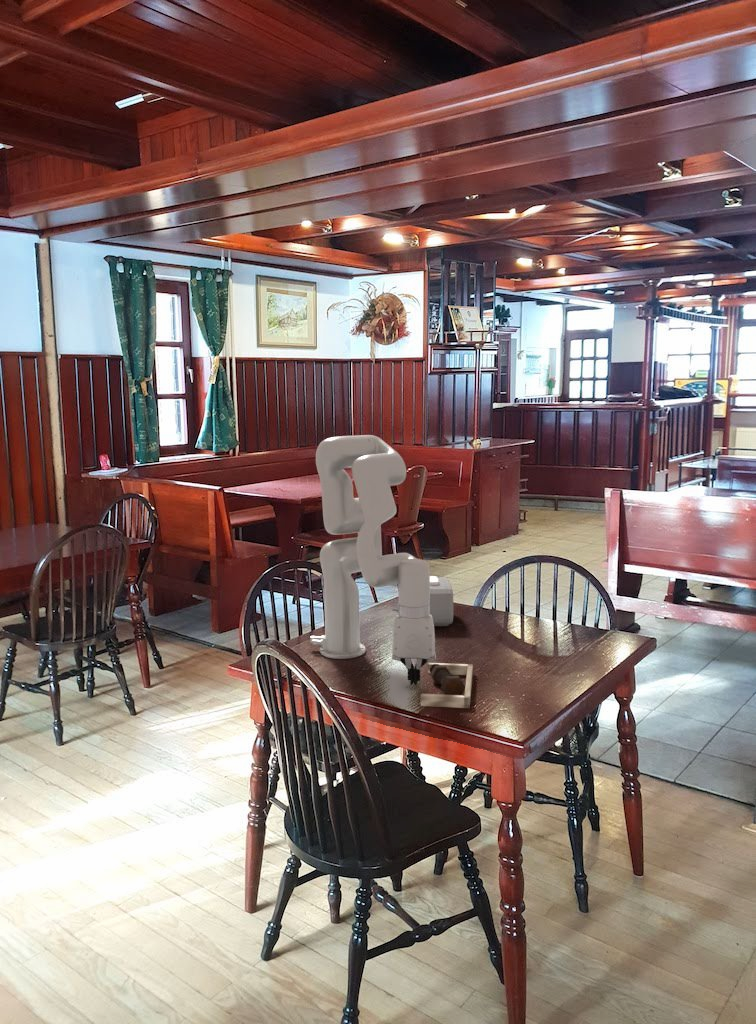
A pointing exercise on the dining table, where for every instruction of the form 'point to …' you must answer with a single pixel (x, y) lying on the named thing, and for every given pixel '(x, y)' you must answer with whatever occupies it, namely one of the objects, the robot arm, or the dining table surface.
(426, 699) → the dock
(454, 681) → the bolt
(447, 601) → the grey rounded box
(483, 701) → the dining table surface
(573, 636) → the dining table surface
